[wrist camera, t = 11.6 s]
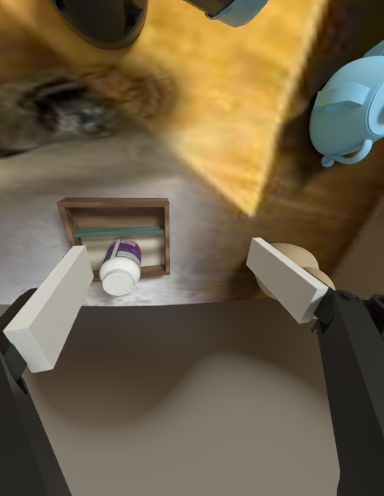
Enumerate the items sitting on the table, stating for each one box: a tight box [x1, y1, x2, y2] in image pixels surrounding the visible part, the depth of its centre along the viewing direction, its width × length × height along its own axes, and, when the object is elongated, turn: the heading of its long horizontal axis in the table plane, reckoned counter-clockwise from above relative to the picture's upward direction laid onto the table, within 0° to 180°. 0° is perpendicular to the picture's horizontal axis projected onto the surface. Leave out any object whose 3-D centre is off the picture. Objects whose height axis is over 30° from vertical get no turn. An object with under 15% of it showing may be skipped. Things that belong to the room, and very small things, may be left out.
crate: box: [57, 198, 170, 282], centre depth 42 cm, size 20×22×4 cm
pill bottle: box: [99, 238, 141, 296], centre depth 39 cm, size 8×8×14 cm
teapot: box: [309, 40, 384, 167], centre depth 36 cm, size 19×19×14 cm
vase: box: [255, 243, 335, 319], centre depth 45 cm, size 17×17×30 cm
